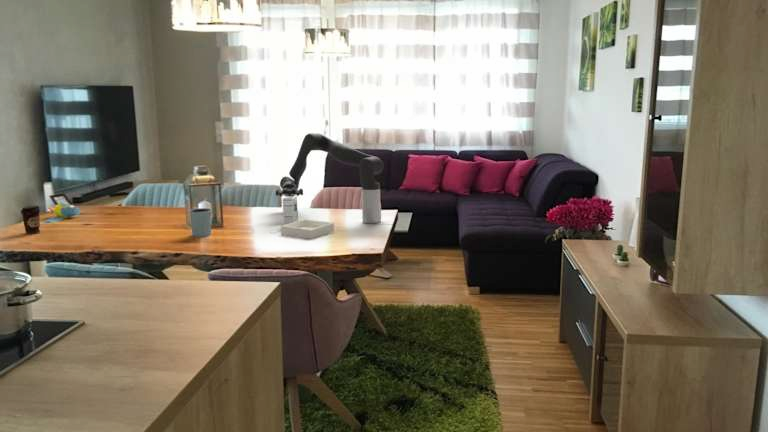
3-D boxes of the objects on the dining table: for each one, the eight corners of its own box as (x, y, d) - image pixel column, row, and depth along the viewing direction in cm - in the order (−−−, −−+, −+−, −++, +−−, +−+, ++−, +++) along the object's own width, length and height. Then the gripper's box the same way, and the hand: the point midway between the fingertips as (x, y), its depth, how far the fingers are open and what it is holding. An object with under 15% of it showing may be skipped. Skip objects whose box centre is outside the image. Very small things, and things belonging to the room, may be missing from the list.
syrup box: (294, 226, 323) (293, 198, 320) (283, 226, 324) (282, 197, 321) (298, 224, 328) (297, 196, 325) (287, 224, 329) (286, 196, 326)
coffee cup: (47, 231, 318) (44, 205, 315) (33, 235, 310) (30, 208, 308) (33, 230, 321) (30, 204, 318) (19, 234, 313) (16, 207, 310)
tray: (305, 227, 321) (304, 219, 320) (334, 231, 312) (334, 222, 311) (281, 234, 306) (280, 226, 305) (311, 238, 297) (310, 230, 296)
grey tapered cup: (193, 237, 301) (191, 212, 298) (188, 233, 310) (187, 209, 307) (215, 235, 305) (213, 210, 303) (210, 231, 314) (208, 207, 312)
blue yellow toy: (67, 198, 366) (91, 199, 364) (68, 213, 368) (93, 214, 366) (33, 207, 339) (59, 208, 337) (35, 223, 341) (61, 224, 339)
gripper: (275, 182, 348) (275, 187, 332) (302, 182, 350) (303, 187, 334) (276, 196, 350) (275, 201, 334) (302, 195, 352) (303, 201, 336)
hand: (289, 194), depth 334 cm, fingers open, 8 cm apart
